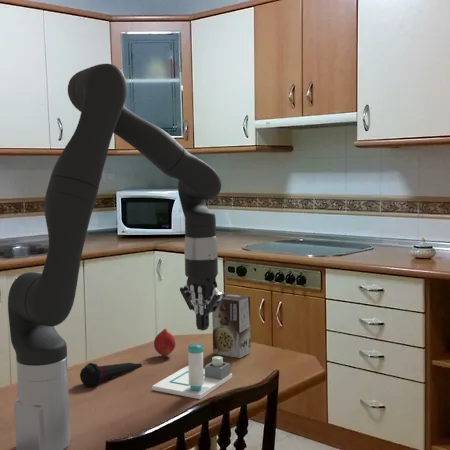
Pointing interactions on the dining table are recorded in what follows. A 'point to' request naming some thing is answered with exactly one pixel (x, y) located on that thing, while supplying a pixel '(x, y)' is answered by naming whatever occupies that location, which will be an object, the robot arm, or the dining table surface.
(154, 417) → the dining table surface
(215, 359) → the button
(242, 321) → the coffee box
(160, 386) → the white flat rectangular panel
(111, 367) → the microphone
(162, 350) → the onion
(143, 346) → the dining table surface
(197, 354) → the marker
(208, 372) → the button housing
